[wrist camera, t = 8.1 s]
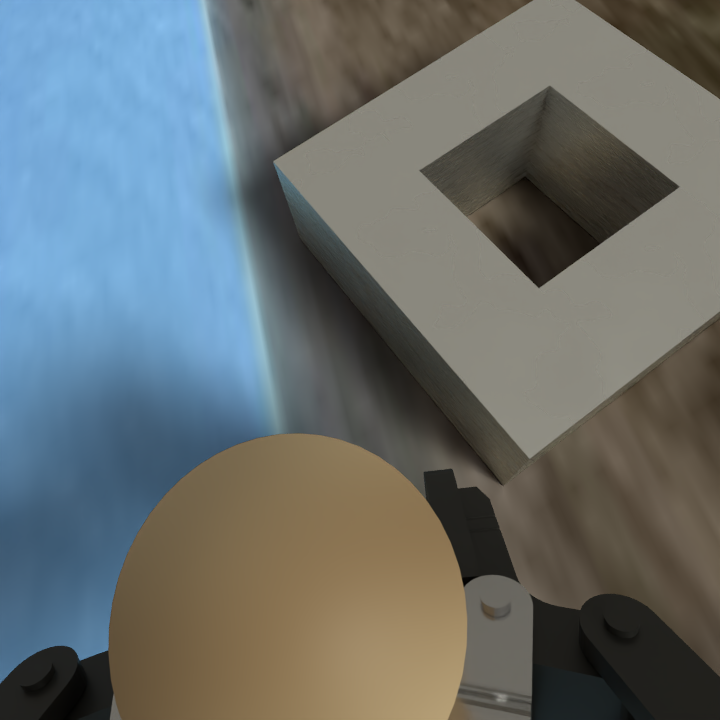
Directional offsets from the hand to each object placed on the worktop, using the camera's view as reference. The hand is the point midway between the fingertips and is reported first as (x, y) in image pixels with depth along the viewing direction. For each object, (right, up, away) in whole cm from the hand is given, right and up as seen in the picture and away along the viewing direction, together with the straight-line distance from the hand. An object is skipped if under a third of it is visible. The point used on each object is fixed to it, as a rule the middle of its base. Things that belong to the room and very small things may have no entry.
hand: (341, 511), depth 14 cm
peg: (+1, -4, +5) cm, 6 cm away
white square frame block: (+7, +8, +10) cm, 15 cm away
